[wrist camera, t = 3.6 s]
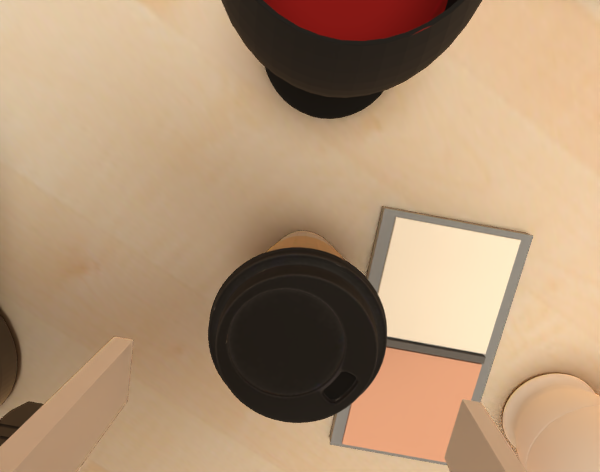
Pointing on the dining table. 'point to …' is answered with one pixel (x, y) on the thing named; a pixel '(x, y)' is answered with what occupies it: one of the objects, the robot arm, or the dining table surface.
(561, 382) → the jar
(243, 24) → the wine glass
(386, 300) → the makeup palette
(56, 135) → the dining table surface
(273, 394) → the coffee cup
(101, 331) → the dining table surface
